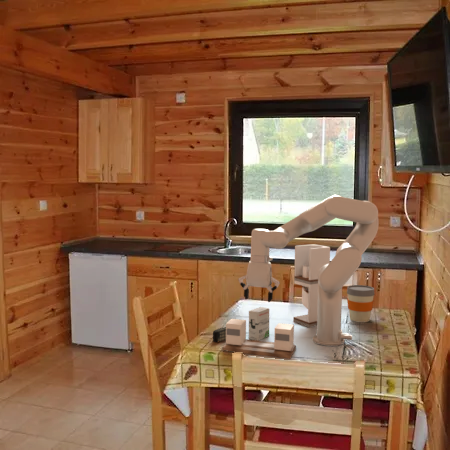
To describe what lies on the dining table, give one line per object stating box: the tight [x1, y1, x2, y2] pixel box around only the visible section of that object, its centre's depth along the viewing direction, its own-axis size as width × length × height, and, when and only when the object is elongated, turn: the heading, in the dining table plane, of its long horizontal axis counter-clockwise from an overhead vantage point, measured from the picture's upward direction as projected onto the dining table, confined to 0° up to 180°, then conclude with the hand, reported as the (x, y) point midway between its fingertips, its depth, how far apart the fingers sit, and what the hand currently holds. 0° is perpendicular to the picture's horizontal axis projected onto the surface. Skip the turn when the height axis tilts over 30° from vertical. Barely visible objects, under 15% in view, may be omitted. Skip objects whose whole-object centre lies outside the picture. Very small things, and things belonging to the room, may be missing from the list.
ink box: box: [248, 306, 270, 341], centre depth 216 cm, size 9×5×12 cm, turn 141°
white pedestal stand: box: [292, 244, 331, 328], centre depth 237 cm, size 11×11×35 cm
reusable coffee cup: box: [346, 284, 376, 323], centre depth 244 cm, size 13×13×15 cm
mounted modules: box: [225, 318, 295, 351], centre depth 200 cm, size 25×7×8 cm, turn 72°
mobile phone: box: [212, 326, 226, 343], centre depth 215 cm, size 5×3×15 cm
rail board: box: [222, 338, 297, 360], centre depth 201 cm, size 26×12×2 cm, turn 72°
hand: (258, 300), depth 215 cm, fingers open, 9 cm apart
